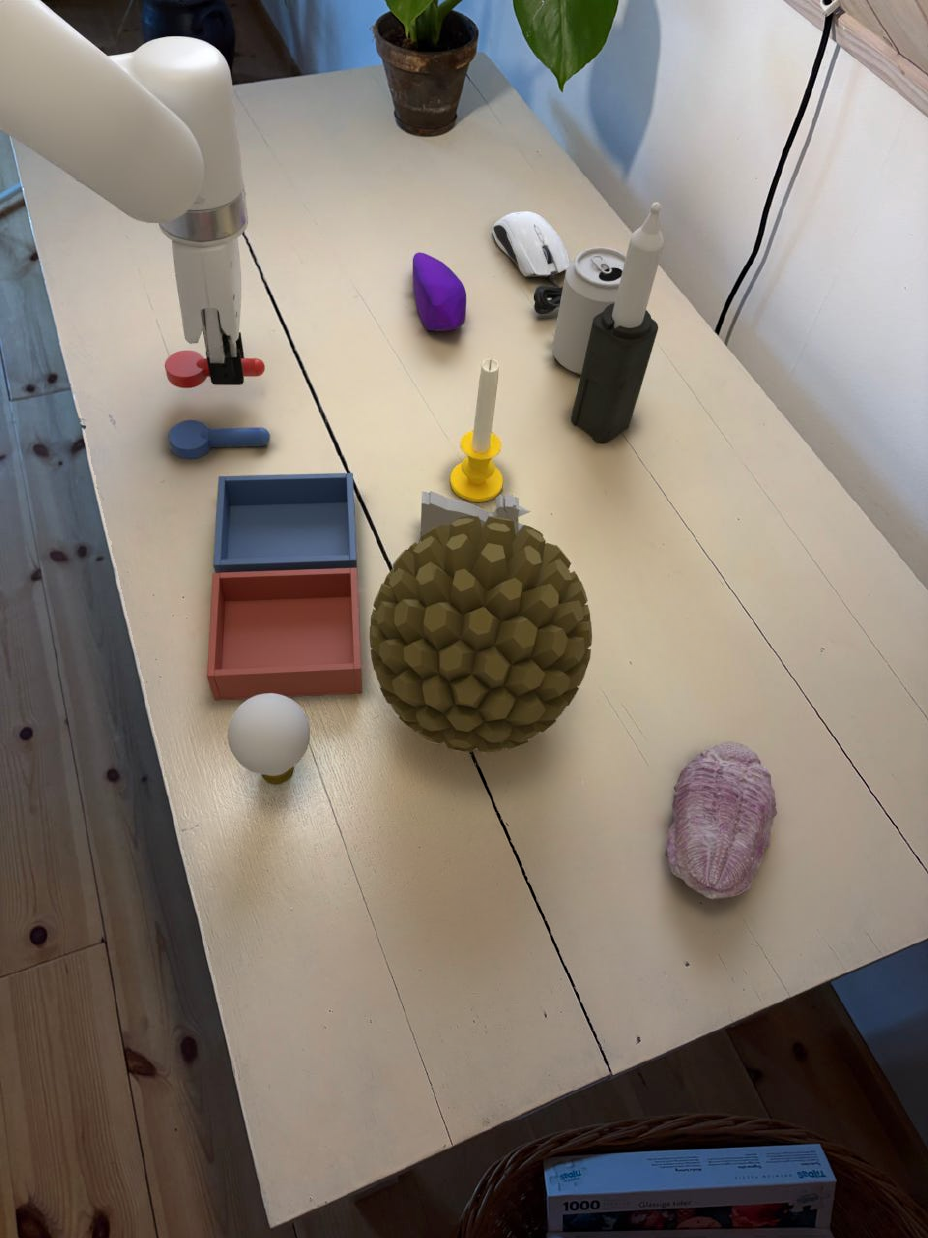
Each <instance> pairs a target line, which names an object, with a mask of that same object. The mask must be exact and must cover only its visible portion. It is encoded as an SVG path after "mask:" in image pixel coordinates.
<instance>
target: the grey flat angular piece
mask: <svg viewBox="0 0 928 1238" xmlns="http://www.w3.org/2000/svg"><path fill="white" fill-rule="evenodd" d="M420 509H421V510H420V537H421V536H422V535H423V534H425V533H426V532H428V531H430V530H431V529H433V528H435V527H436V526H438V525H440V524H441V525H442V526H443V525H451V524H452V523H453V522H455V521H456V520H457V519H459V518H461V517H468V516H477V517H479V519H480V522H481V525H482V528H483V526H484V524H485V522H486V520H487V519H488V517H489V516H491V517H499V518H505V519H509V520H513V521H514V526H515V533H516V534H517V533H518V531H519V530H520V529H521V528H522V526H523V525H524V524H523V523H520V522H519V517H521V516H524V515H527V514H529V513H531V512H532V511H531V510H529V509H527V508H525V507H523V506H520V498H519V497H517V496H514V495H513V494H504V495H503V494H498V495H497V496H496V497H495V509H494V511H493V512H489V511H487V510H486V509H484V508H481V507H480V506H478V505H476V504H474V503H471V502H469V501H466V500H461V499H456V498H451V497H449V498H448V497H445V496H443V495H441V494H439V493H437V492H434V491H432V490H430V492H427V491H421V507H420ZM420 542H421V539H420V541H419V543H420Z"/></svg>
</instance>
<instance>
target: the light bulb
mask: <svg viewBox="0 0 928 1238" xmlns="http://www.w3.org/2000/svg"><path fill="white" fill-rule="evenodd" d="M310 740H311V726H310V722H309V719H308V716H307V714H306V712H305V711H304V709H303V708H302V707H301V706H300V705H299V704H298V703H297V702H296V701H295V700H293V699H292V698H291V697H286V696H283V695H280V694H274V693H266V694H260V695H257V696H254V697H252V698H250V699H245V700H244V701H243V702H242V703H241V704H240V705H239V706H238V707H237V708H236V709H235V711H234V712H233V715H232V716H231V718H230V721H229V724H228V728H227V742H228V746H229V748H230V752H231V753H232V755H233V757H234V759H235V760H236V761H237V762H238V763H239V764H240V765H241V766H242V767H243V768H244V769H246V770H248V771H250V772H252V773H255V774H258V775H261V778H262V780H263V781H264V782H266V783H267V784H270V785H274V786H275V785H276V786H278V785H282V784H285V783H287V782H288V781H289V780H290V779H291V778H292V777H293V774H294V771H295V766H296V765H297V764H298V763H299V762H300V761H301V760H302V758H303V757H304V756H305V754H306V752H307V750H308V747H309V744H310Z"/></svg>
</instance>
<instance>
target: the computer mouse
mask: <svg viewBox="0 0 928 1238" xmlns="http://www.w3.org/2000/svg"><path fill="white" fill-rule="evenodd" d="M491 232H492V235H493V238H494V241H495V242H496V244H497V246H498V247H499V248H500V250H501V251H502V252H504V253H505V255H507V256H508V257H509V258H510V259H511V260H512V261H513V262H514V263H515V265H516V267H518V269H519V271H520V273H521V274H522V275H523V276H524V277H546V278H548V280H549V281H550V282H551V283H553V284H554V286H551V285H538V286H537V287H536V288H535V290H534V293H533V301H534V303H533V309H534V311H535V312H536V313H537V314H538V315H541V316H542V315H547V314H551V313H552V312H553V311H554V310H556V309H557V308H559V307H560V301H561V296H562V290H563V285H562V286H560V285H559V284H558V282H557V281H556V277H555V275H556V274H558V273H559V274H560V273H563V271H566V270H567V268H568V267H569V265H570V264H571V263H572V262H571V260H570V256H569V254H568V251H567V248H566V246H565V244H564V241H563V240H562V238H561V237H560V236H559V234H558V233H557V232H556V230H555V228H553V227H552V225H551V224H550V223H549V222H548V221H547V220H545V218H544V217H542V216H541V215H539V214H538V213H536V212H532V211H529V210H528V211H527V210H522V211H520V210H519V211H514V212H511V213H508V214H506V215H504V216H502V217H500V218H499V219H498V220H497V221H496V222H495V223H494V224H493V226H492V229H491Z"/></svg>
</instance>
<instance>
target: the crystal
mask: <svg viewBox="0 0 928 1238" xmlns="http://www.w3.org/2000/svg"><path fill="white" fill-rule="evenodd" d="M412 281H413V282H412V283H413V293H414V300H415V304H416V309H417V313H418V316H419V319H420V321H421V323H422V325H423V327H424V328H425V329H426V330H427V331H444V332H445V331H453V330H457V329H459V328H460V327H461V326H463V325H464V324H465V320H466V315H467V314H466V311H467V291H466V289H465V285H464V283H463V282H462V281H461V279H460V278H459V276H458V275H457V274H456V273H455V272H454V271H453V270H452V269H451V268H450V267H449V266H447V265H446V264H445V263H444V262H442V261H441V260H439V259H438V258H436V257H434V256H431V255H430V254H427V253H426V252H419V251H418V252H416V253H415V254H414V255H413V258H412Z"/></svg>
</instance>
